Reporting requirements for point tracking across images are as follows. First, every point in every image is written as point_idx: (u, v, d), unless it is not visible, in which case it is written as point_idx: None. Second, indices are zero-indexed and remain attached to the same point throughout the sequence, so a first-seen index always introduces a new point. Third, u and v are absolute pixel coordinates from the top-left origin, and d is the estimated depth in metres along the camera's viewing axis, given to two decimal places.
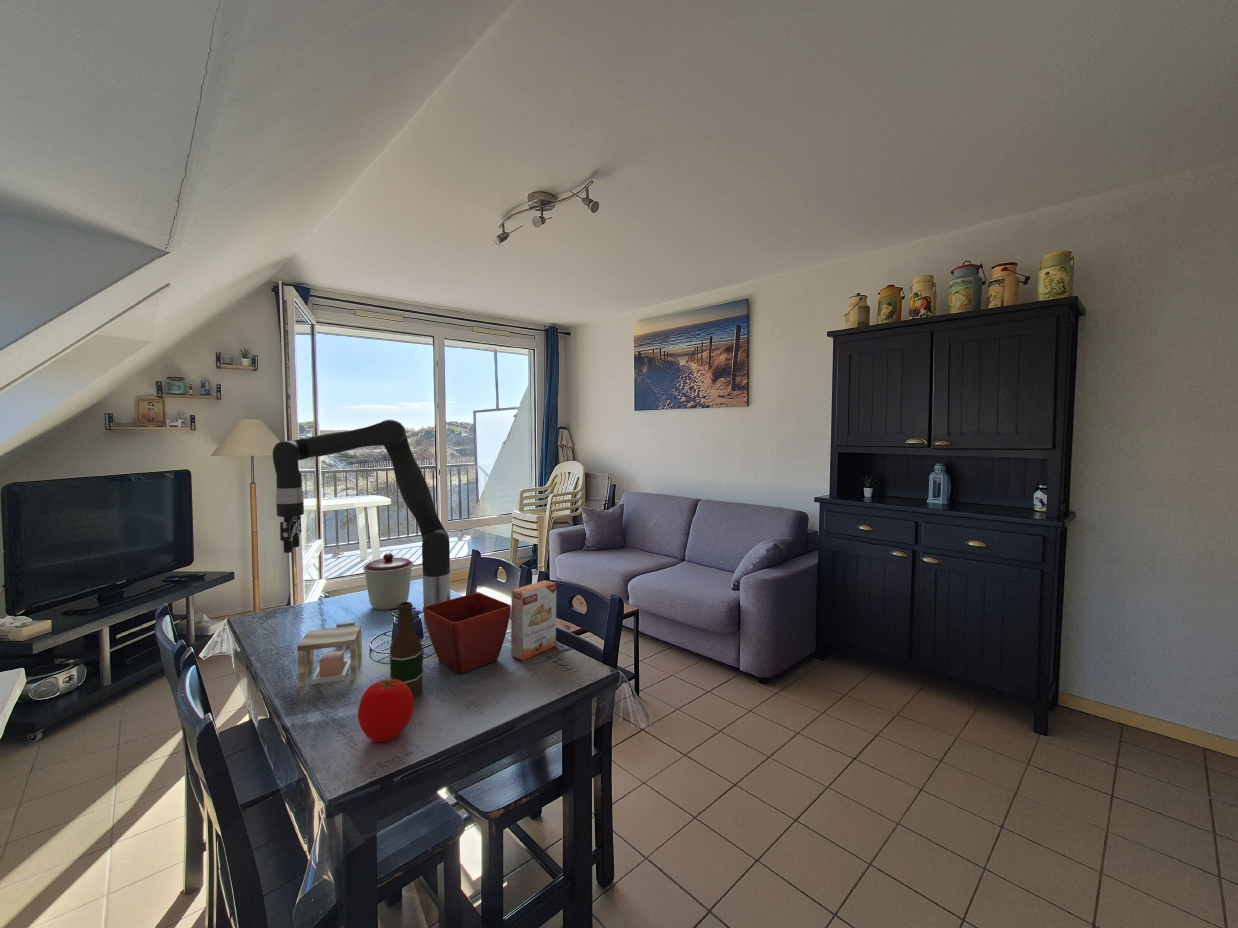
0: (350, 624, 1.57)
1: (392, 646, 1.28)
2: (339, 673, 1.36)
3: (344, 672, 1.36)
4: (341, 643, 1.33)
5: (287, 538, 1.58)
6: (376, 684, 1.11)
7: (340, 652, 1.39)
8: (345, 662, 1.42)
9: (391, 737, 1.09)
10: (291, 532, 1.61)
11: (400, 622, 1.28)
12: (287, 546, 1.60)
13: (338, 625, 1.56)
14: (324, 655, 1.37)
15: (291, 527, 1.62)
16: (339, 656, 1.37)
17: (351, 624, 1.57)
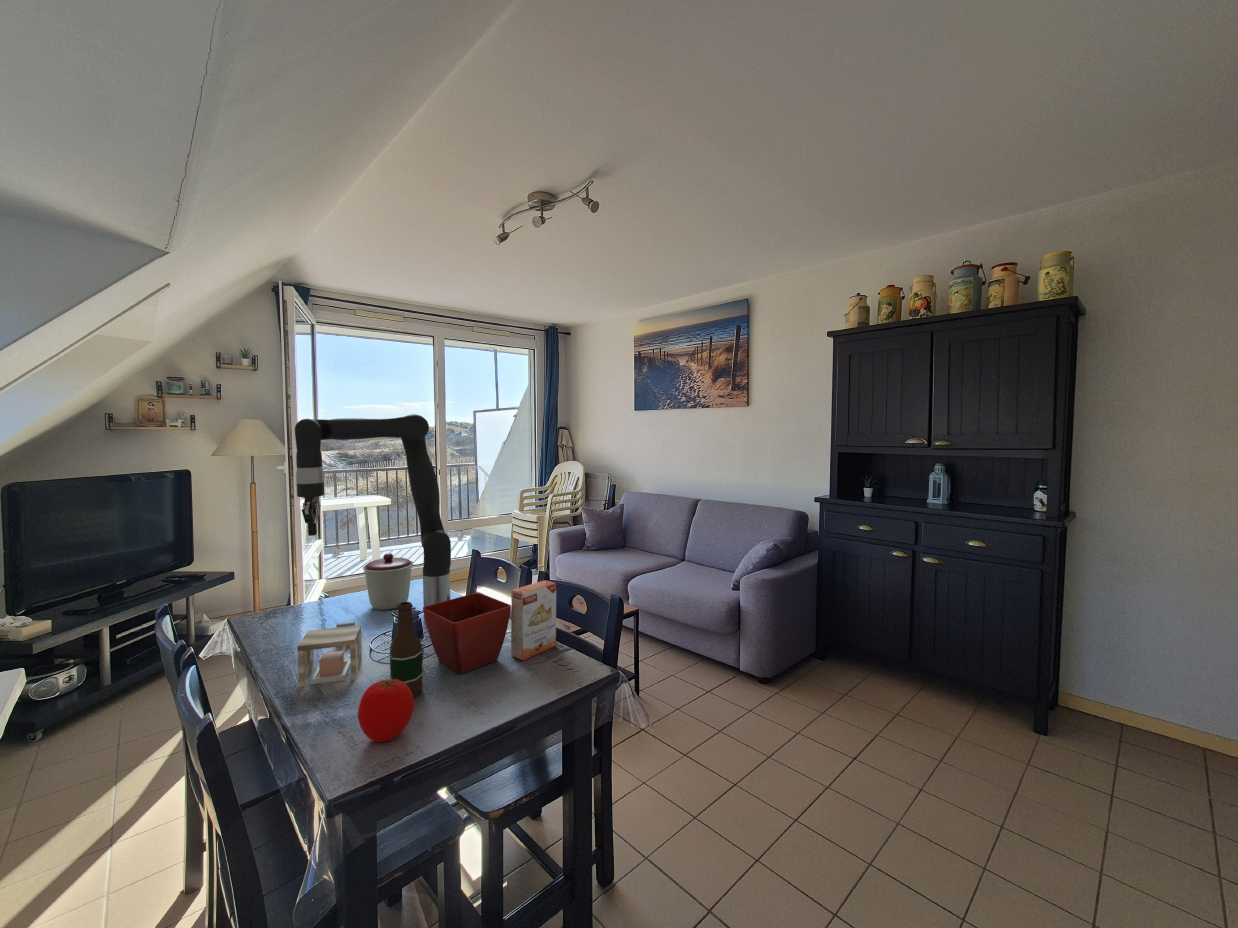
0: (350, 624, 1.57)
1: (392, 646, 1.28)
2: (339, 673, 1.36)
3: (344, 672, 1.36)
4: (341, 643, 1.33)
5: (312, 520, 1.57)
6: (376, 684, 1.11)
7: (340, 652, 1.39)
8: (345, 662, 1.42)
9: (391, 737, 1.09)
10: (314, 515, 1.58)
11: (400, 622, 1.28)
12: (311, 529, 1.58)
13: (338, 625, 1.56)
14: (324, 655, 1.37)
15: (313, 510, 1.58)
16: (339, 656, 1.37)
17: (351, 624, 1.57)
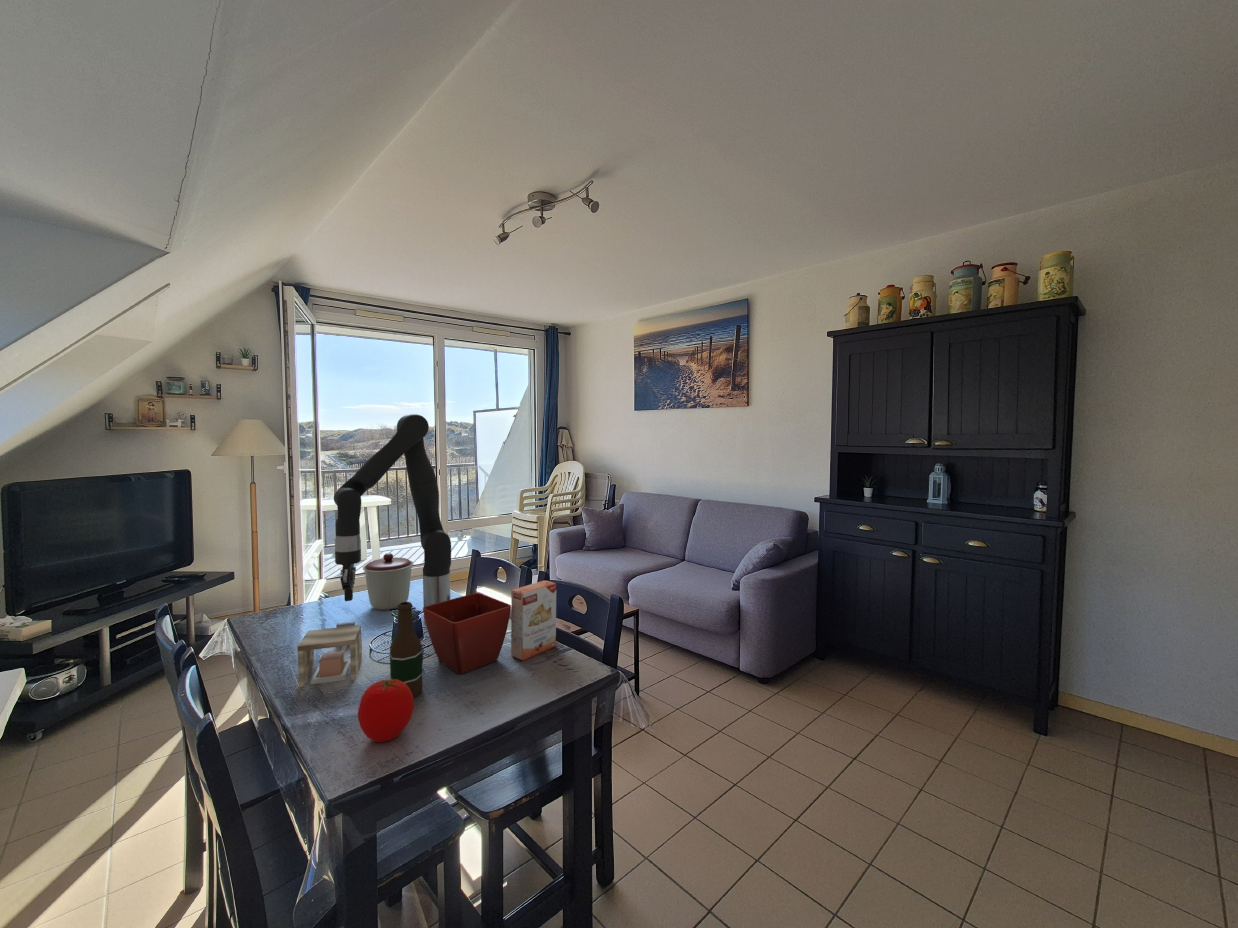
0: (350, 624, 1.57)
1: (392, 646, 1.28)
2: (339, 673, 1.36)
3: (344, 672, 1.36)
4: (341, 643, 1.33)
5: (349, 587, 1.61)
6: (376, 684, 1.11)
7: (340, 652, 1.39)
8: (345, 662, 1.42)
9: (391, 737, 1.09)
10: (351, 582, 1.62)
11: (400, 622, 1.28)
12: (348, 594, 1.62)
13: (338, 625, 1.56)
14: (324, 655, 1.37)
15: (350, 577, 1.62)
16: (339, 656, 1.37)
17: (351, 624, 1.57)
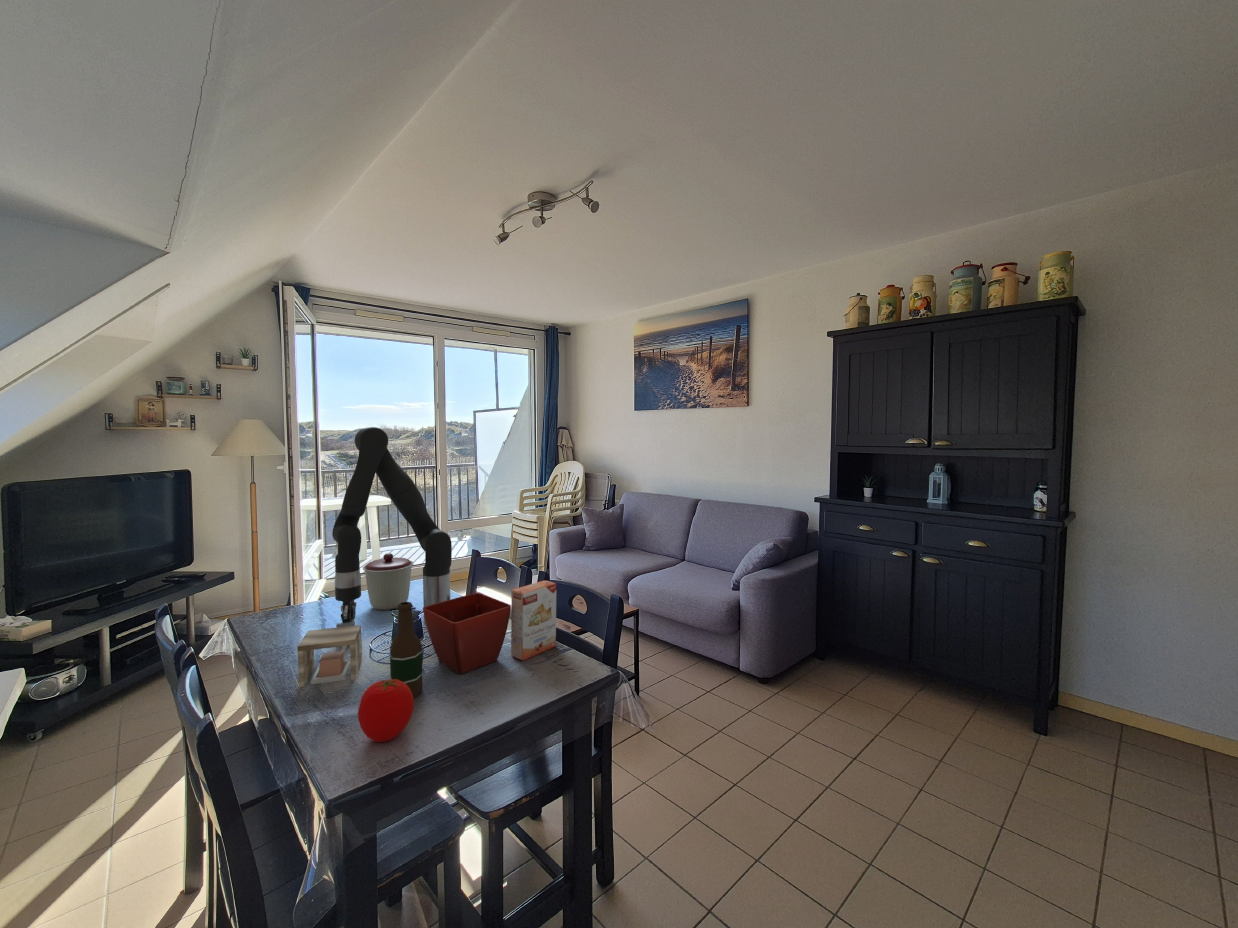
0: (350, 624, 1.57)
1: (392, 646, 1.28)
2: (339, 673, 1.36)
3: (344, 672, 1.36)
4: (341, 643, 1.33)
5: None
6: (376, 684, 1.11)
7: (340, 652, 1.39)
8: (345, 662, 1.42)
9: (391, 737, 1.09)
10: (351, 617, 1.62)
11: (400, 622, 1.28)
12: None
13: (338, 625, 1.56)
14: (324, 655, 1.37)
15: (350, 612, 1.61)
16: (339, 656, 1.37)
17: (351, 624, 1.57)
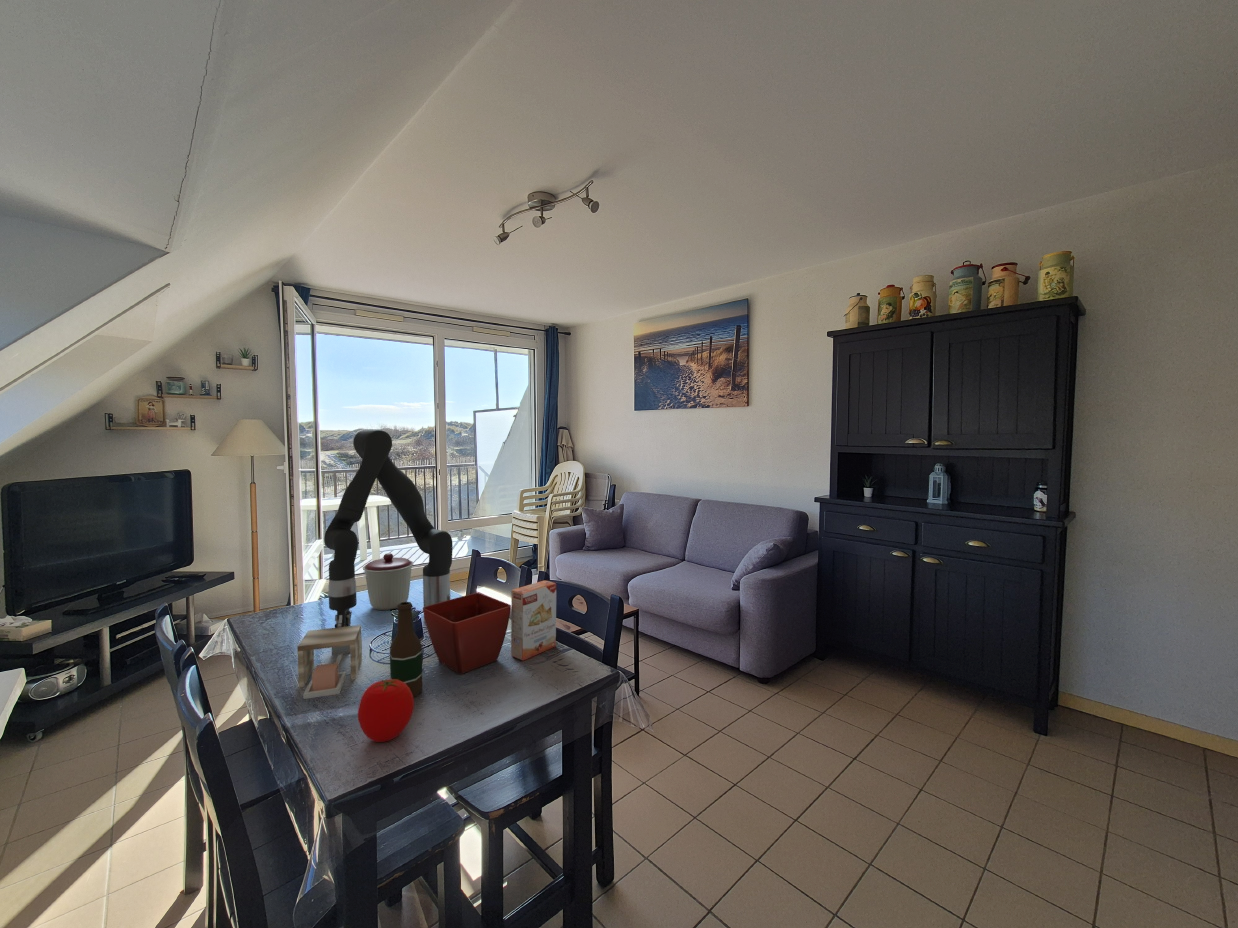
0: None
1: (392, 646, 1.28)
2: (333, 686, 1.29)
3: (338, 685, 1.28)
4: (341, 643, 1.33)
5: None
6: (376, 684, 1.11)
7: (334, 664, 1.32)
8: (340, 674, 1.35)
9: (391, 737, 1.09)
10: None
11: (400, 622, 1.28)
12: None
13: None
14: (317, 667, 1.30)
15: (345, 622, 1.53)
16: (333, 668, 1.30)
17: None
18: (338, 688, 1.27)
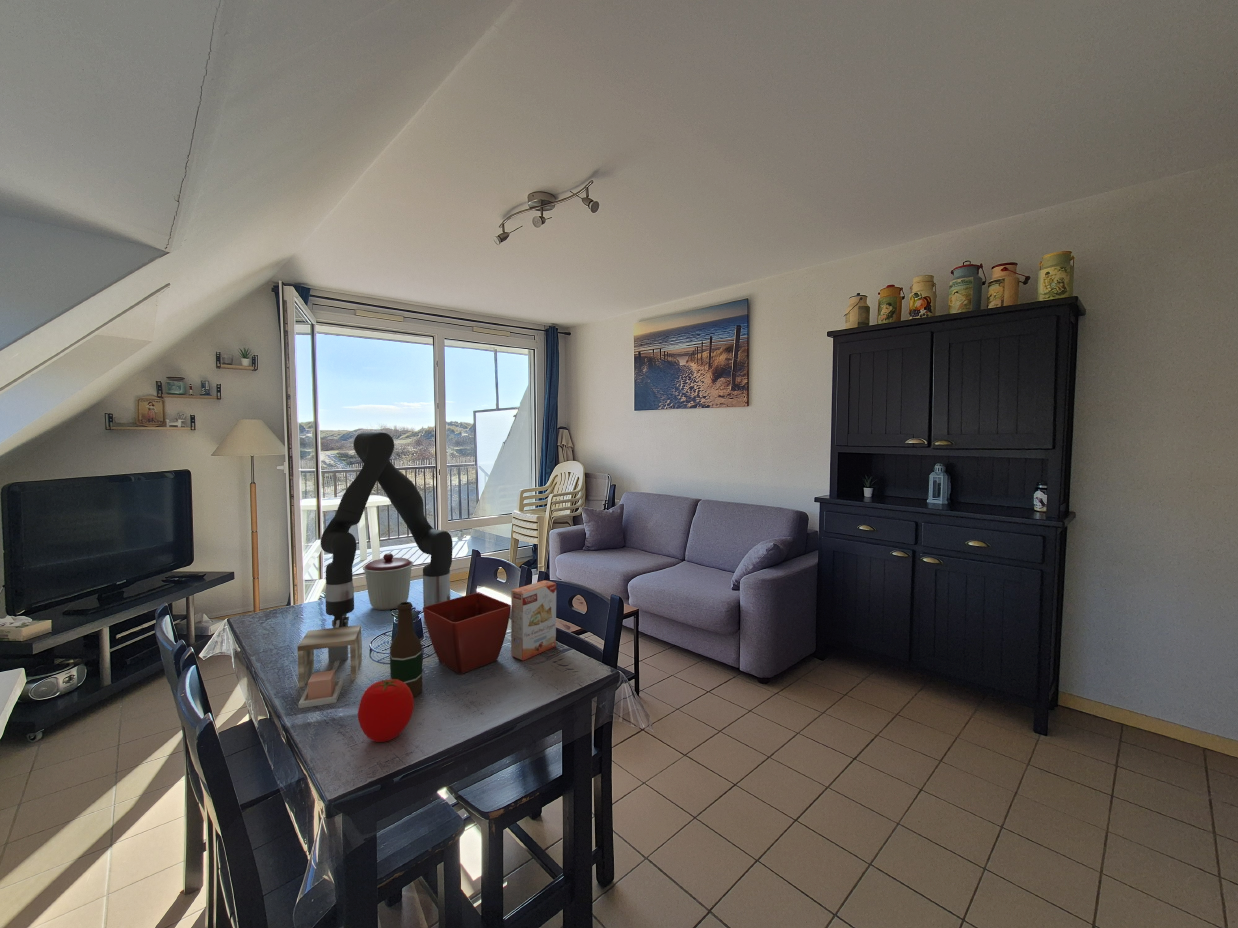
0: None
1: (392, 646, 1.28)
2: (329, 695, 1.25)
3: (335, 694, 1.24)
4: (341, 643, 1.33)
5: None
6: (376, 684, 1.11)
7: (331, 672, 1.28)
8: (336, 682, 1.31)
9: (391, 737, 1.09)
10: None
11: (400, 622, 1.28)
12: None
13: None
14: (313, 675, 1.26)
15: None
16: (330, 676, 1.26)
17: None
18: (334, 697, 1.23)
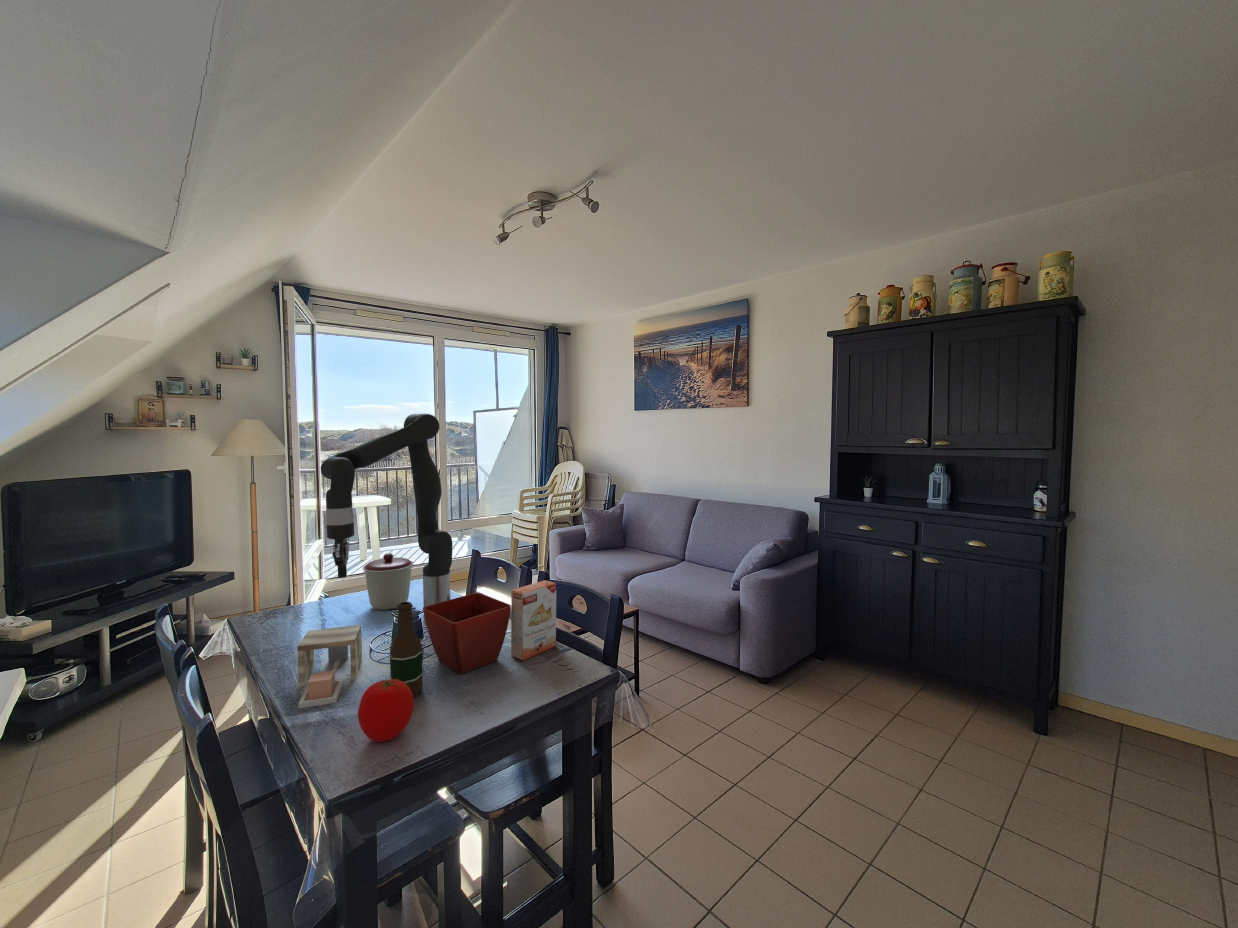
0: None
1: (392, 646, 1.28)
2: (329, 695, 1.25)
3: (335, 694, 1.24)
4: (341, 643, 1.33)
5: (342, 563, 1.51)
6: (376, 684, 1.11)
7: (331, 672, 1.28)
8: (336, 682, 1.31)
9: (391, 737, 1.09)
10: (344, 557, 1.53)
11: (400, 622, 1.28)
12: (341, 571, 1.53)
13: None
14: (313, 675, 1.26)
15: (343, 552, 1.52)
16: (330, 676, 1.25)
17: None
18: (334, 697, 1.23)
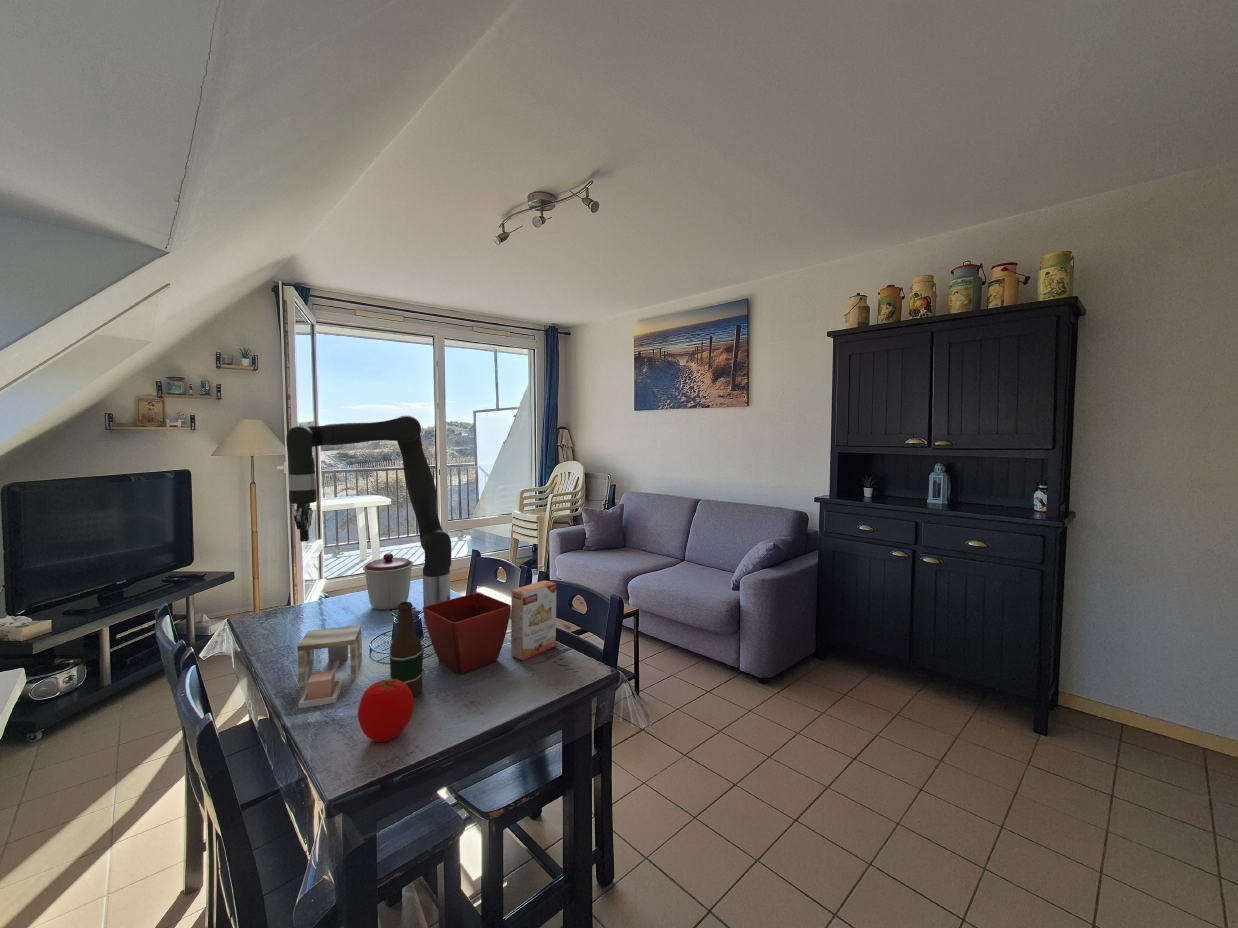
0: None
1: (392, 646, 1.28)
2: (329, 695, 1.25)
3: (335, 694, 1.24)
4: (341, 643, 1.33)
5: (304, 527, 1.59)
6: (376, 684, 1.11)
7: (331, 672, 1.28)
8: (336, 682, 1.31)
9: (391, 737, 1.09)
10: (306, 522, 1.60)
11: (400, 622, 1.28)
12: (303, 535, 1.60)
13: None
14: (313, 675, 1.26)
15: (305, 517, 1.60)
16: (330, 676, 1.25)
17: None
18: (334, 697, 1.23)
